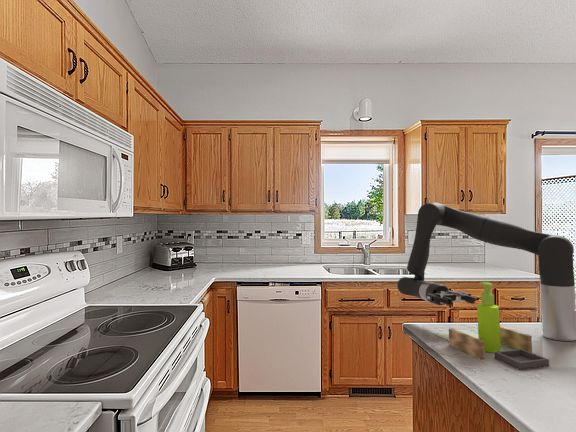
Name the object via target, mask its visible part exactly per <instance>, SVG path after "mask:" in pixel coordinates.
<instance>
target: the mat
mask: <svg viewBox="0 0 576 432" xmlns="http://www.w3.org/2000/svg"><path fill="white" fill-rule="evenodd" d="M457 331H460V332H462V333H465V334H467V335H470V336H472V337H475V338H477V339H478V333H476V332H473V331H471V330H469V329H459V330H457ZM433 335H435V336H437V337H440V338H442V339H444V340H446V341H448V342H449V330H448V331H438V332H434V333H433Z"/></svg>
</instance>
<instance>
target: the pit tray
mask: <svg viewBox="0 0 576 432" xmlns="http://www.w3.org/2000/svg"><path fill="white" fill-rule="evenodd" d="M493 353H494V359H495V360H497V361H500V362H502V363H504V364H506V365H509V366H510V367H513V368H515V369H517V370H519V371H524V370H529V369H530V370H532V369H538V368H539V369H540V368H544V367H545V368H546V367H550V359H549V358H546V357H544V356H541V355H539V354H536V353H533V352H532V353H531V352H528V351H525V350H523V349H510V350H509V349H508V350H501V351H499V352H493Z"/></svg>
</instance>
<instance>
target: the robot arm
mask: <svg viewBox="0 0 576 432" xmlns="http://www.w3.org/2000/svg"><path fill="white" fill-rule="evenodd" d="M416 220H417V221H416V228H415V234H414V240H413V244H412V248H411V252H410V255H409V258H408V263H407V266H406V270H407V271H408V272H409V273H410V274H412V275H414V276H413V277H408V276H403V277H401V278H399V279H398V281H397V284H396V286H397V291H398V292H399V293H401V294H402V295H405V296H410V297H415V298H419V299H421V300H423V301H426V302H428V303H432V304H434V305H437V306H444V305H448V306H453V303H458V304H459V303H461V302H464V303H468V304H475V303H476V297H474V296H472V293H469V292H464V291H460V290H458V291H453V290H450V289H449V288H448V287H447V286H446V285H444V284H441V283H436V282H431V281H427V280H426V281H425V270H426V268H427V264H428V260H429V257H430V248H431V247H430V245H431V240H432V235H433V232H434V230H435V229H436V226H441V227H446V228H451V229H454V230H457V231H459V232H461V233H463V234H465V235H466V236H469V238H472V239H475V240H478V241H480V242H483V243H487V244H489V245H495V246H498V247H504V248H509V249H517V250H523V251H526V252H529V253H531V254H533V255H536V256H537V257H538V258H537V259H538V260H537V261H538V275H539V279H540V299H541V300H540V302H541V303H540V304H541V322H542V323H541V326H542V328H541V329H542V336H543V337H544V338H546V339H549V340H553V341H554V340H555V341H562V342H573V341H576V286H575V284H576V283H575V282H576V281H575V280H576V279H575V273H574V272H575V270H574V253H575V249H574V245H573V243H572V242H571V240H569V238H567V237H565V236H563V235H557V234H549V233H544V232H539V231H538V232H537V231H534V230H531V229H527V228H523V227H522V226H519V225H516V224H513V223H511V222H508V221H505V220H502V219H498V218H493V217H490V216H488V215H487V216H486V215H482V214H478V213H473V212H467V211H463V210H459V209H456V208H453V207H450V206H448V205H445V204H443V203H441V202H436V201H435V202H426V203H424V204H422V205H421V206H420V208H419V209H418V212H417V219H416ZM457 298H458V299H457Z"/></svg>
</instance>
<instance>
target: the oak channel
mask: <svg viewBox="0 0 576 432" xmlns="http://www.w3.org/2000/svg"><path fill="white" fill-rule="evenodd" d="M448 331H449V341H448V345H449V346H452V347H453V348H456V349H458V350H460V351H462V352H464V353H466V354H469V355H470V356H472V357H475V358H476V359H479V360H485V351H484V341H482V340H480V339H477V338H475V337H472V336H470V335H467V334H465V333H462V332H460V331H458V330H457V329H455V328H448ZM532 342H533V341H532V335H529V334H527V333H523V332H521V331H518V330H514V329H512V328H508V327H505V326H502V325H500V344H503V345H506V346H508V347H511V348H513V349H514V350H516V349H523V350H525V351H528V352H531V353H533V344H532Z"/></svg>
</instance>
